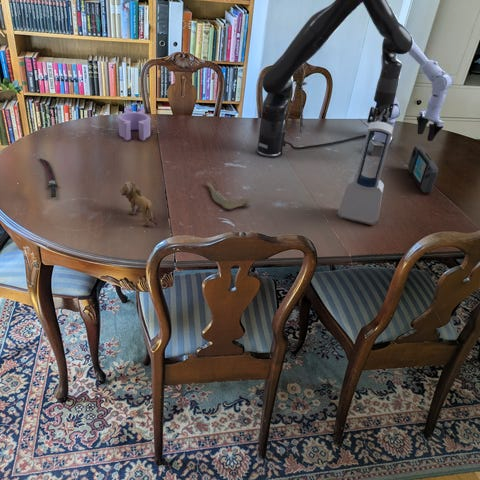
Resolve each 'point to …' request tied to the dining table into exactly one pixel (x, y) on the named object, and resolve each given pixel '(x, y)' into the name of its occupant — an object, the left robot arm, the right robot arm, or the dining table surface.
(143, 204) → the lion figurine
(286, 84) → the left robot arm
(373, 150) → the gray block
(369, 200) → the electronic device
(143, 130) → the clip
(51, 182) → the sword
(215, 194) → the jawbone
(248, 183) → the dining table surface
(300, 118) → the dark upright piece
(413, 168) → the handheld gaming console
